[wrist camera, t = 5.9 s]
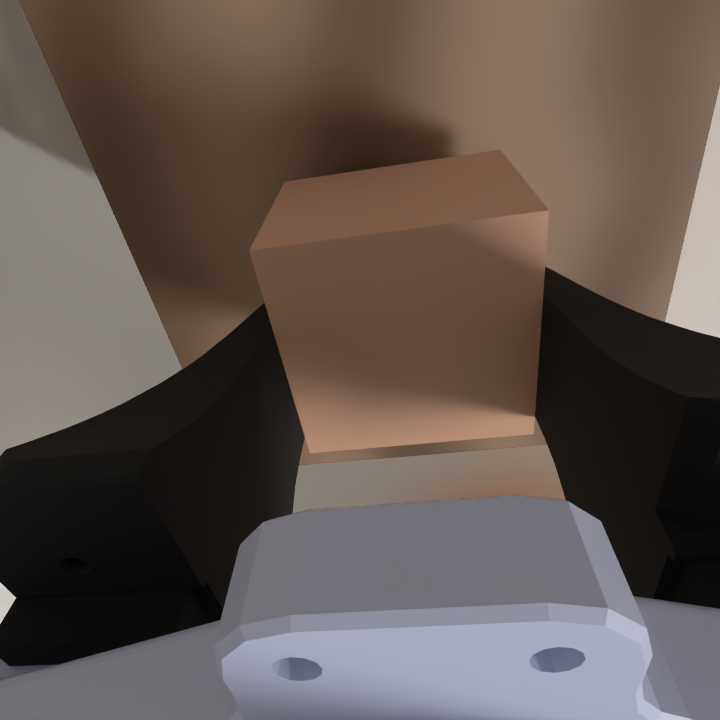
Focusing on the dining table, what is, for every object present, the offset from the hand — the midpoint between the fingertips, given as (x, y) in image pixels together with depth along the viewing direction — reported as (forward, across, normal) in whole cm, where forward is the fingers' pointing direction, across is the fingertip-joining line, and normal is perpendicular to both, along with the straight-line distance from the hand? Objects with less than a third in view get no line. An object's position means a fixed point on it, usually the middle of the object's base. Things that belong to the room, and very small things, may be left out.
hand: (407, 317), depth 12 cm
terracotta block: (+2, 0, -1) cm, 2 cm away
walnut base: (+5, 0, 0) cm, 5 cm away
